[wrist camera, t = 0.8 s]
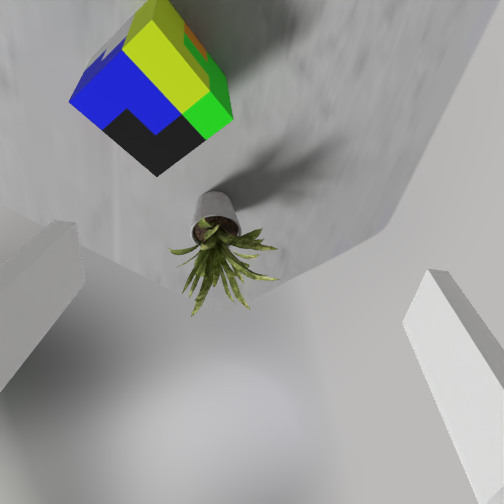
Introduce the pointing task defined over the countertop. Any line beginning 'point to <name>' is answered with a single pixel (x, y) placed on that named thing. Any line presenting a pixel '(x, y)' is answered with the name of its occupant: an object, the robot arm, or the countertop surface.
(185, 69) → the puzzle toy
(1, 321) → the robot arm
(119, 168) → the countertop surface
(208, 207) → the house plant
